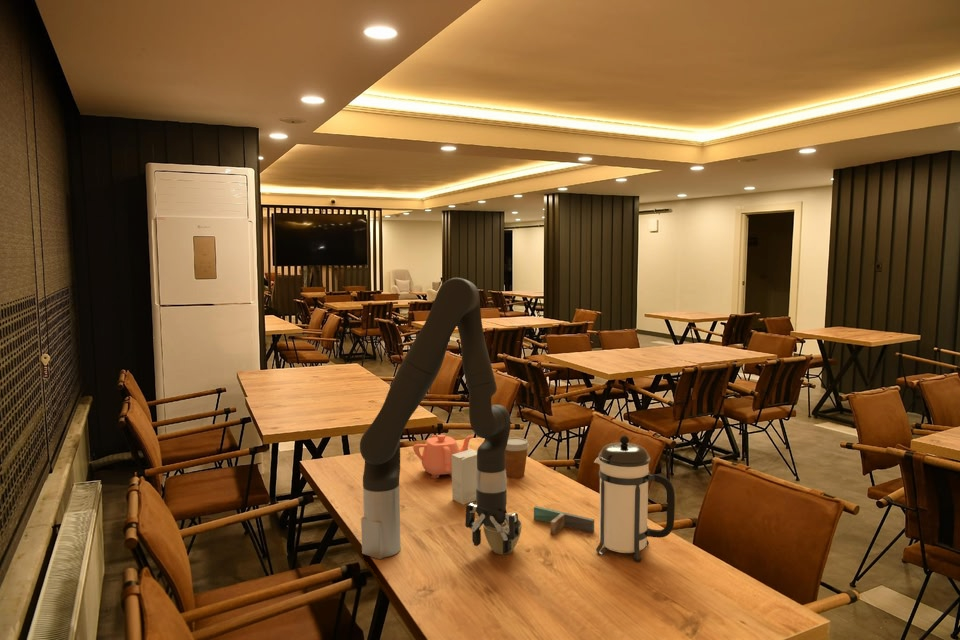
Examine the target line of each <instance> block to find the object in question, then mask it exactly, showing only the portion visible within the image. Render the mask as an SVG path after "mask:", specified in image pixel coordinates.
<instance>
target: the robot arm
mask: <svg viewBox="0 0 960 640" xmlns="http://www.w3.org/2000/svg"><path fill="white" fill-rule="evenodd" d="M480 299H481V298H480V292H479V289H478V287H477V286H476V285H475V284H474V283H473V282H472V281H471V280H470V281H469V280H468V279H464V278H462V277H452V278H449V279H448V280H446V281H445V282H443V283H442V284H441V285H440V287H439V289H438V291H437V294H436V296H435V299H434V300H433V303H432V306H431V309H430V311H429V314H428V315H427V318H426V320H425V322H424V324H423V326H422V327H421V329H420V331H419V332H418V333H417V335H416V337H415V339H414V340H413V342H412V343H411V346H410V347H409V350H408V351H407V353H406V355H405V356H404V357H403V359H402V362H401V364H400V365H399V367H398V369H397V371H396V373H395V376H394V378H393V381H392V383H391V384H390V387H389V390H388V391H387V392H388V393H387V394H386V397H385V399H384V401H383V404H382V406H381V408H380V410H379V411H378V414H377V415H376V416H375V418H374V419H373V421H372V423H371V424H370V425H369V426H368V427H367V428H366V430H365V431H364V433H363V434H362V436H361V439H360V442H359V452H360V455H361V457H362V458H363V460H364V469H363V475H362V492H363V493H362V495H363V498H362V499H363V517H361V519H360V523H361V525H360V526H361V527H360V528H361V551H362V552H361V554H362V555H364V556H369V557H372V558H375V559H378V560H381V559H383V558H388V557H392V556H394V555H396V554H398V553H399V552H400V551H401V547H402V546H401V545H402V544H401V543H402V542H401V509H400V508H401V507H400V505H401V504H400V499H401V498H400V497H401V496H400V492H401V491H400V476H401V437H402V435H403V432H404V430H405V428H406V426H407V424H408V422H409V420H410V419H411V417H412V415H413V414H414V413H415V411H416V410H417V409H418V407H419V406H420V404H421V403H422V401H423V400H424V398H425V397H426V396H427V394H428V392H429V390H430V389H431V387H432V385H433V383H434V382H435V380H436V378H437V377H438V374H439V372H440V371H441V368H442V366H443V362H444V360H445V355H446V353H447V348H448V344H449V342H450V339H451V337H452V335H453V333H454V331H455V330H456V328H457V330H458V334H459V335H458V336H459V340H460V347H461V362H462V369H463V375H464V378H465V382H466V385H467V386H466V387H467V390H468V395H469V397H468V416H469V423H470V427H471V429H472V432H474V435H476V436H477V437H479V438H481V439H483V440H484V441H483V442H482V443H481V444H480V445H479V447H478V448H477V450H476V451H477V474H476V500H475V501H476V503H475V501H472V502H470V503H467V504H466V506H465V520H464V521H465V522H464V525H465V527H466V528H467V529H468V528H469V529H470V531H471V532H472V533H471V535H472V536H471V537H472V540H471V541H472V543H473V546H475V547H478V546H479V545H481V543H482V536H481V535H482V532H481V531H482V529H480V528H481V527H483V524H484V526H490V527H492V528H496V529H497V531H498V532H499V533H501V535H502V537H503V539H504V540H503V554H502V555H509V554H510V553H509V552H510V551H511V540H514V539H515V538H516V537H517V536H519V526H518V519H519V514H518V513H517V512H513V513H511V512H510V513H509V512H507V486H508V483H507V476H506V470H505V450H506V446H507V443H508V438H510V437H509V436H510V432H511V420H512V419H511V417H510V416H511V415H510V413H509V411H508V409H507V408H506V407H505V406H504V405H501V404H492V397H493V396H494V395H495V394H496V393H497V391H498V389H497V383H496V378H495V374H494V371H493V367H492V362H491V359H490V356H489V355H490V354H489V350H488V347H487V344H486V337H485V334H484V328H483V321H482V311H481V301H480ZM476 514H477V516H478V518H477V519H476V521H475V518H476V517H475V516H476ZM506 518H507V520H508V521H506V520H505V519H506ZM507 522H508V523H509V525H508V523H507ZM501 524H502V525H503V527H501V526H500V525H501ZM508 553H509V554H508Z"/></svg>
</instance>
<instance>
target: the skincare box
mask: <svg viewBox="0 0 960 640" xmlns="http://www.w3.org/2000/svg"><path fill="white" fill-rule="evenodd" d="M451 456H452V476H451V488H452V490H451V493H452V495H451V496H452V497H451V498H452V500H453V501H455V502H457V503H459V504H461V505H468V504H470V503H472V502H475V501H476V474H477V450H475V449H472V448H468V450H466V451H463V452H460V453H456V454H453V455H451Z"/></svg>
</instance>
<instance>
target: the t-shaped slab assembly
mask: <svg viewBox="0 0 960 640" xmlns="http://www.w3.org/2000/svg"><path fill="white" fill-rule="evenodd" d="M533 520H537V521H540V522H544V523H549V524H550V527H549V528H550V532H549V533H550V535H553V536H555V535H556V534H557V533H559V531H561V530H562V529H564V527H566V528H570V529H574V530H578V531H583V532H586V533H591V534H593V533H594V532H595V518H589V517H586V516H582V515H577V514H573V513H568V512H564V511H559V510H555V509H551V508H547V507H542V506H537V505H535V506H534V507H533Z"/></svg>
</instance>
